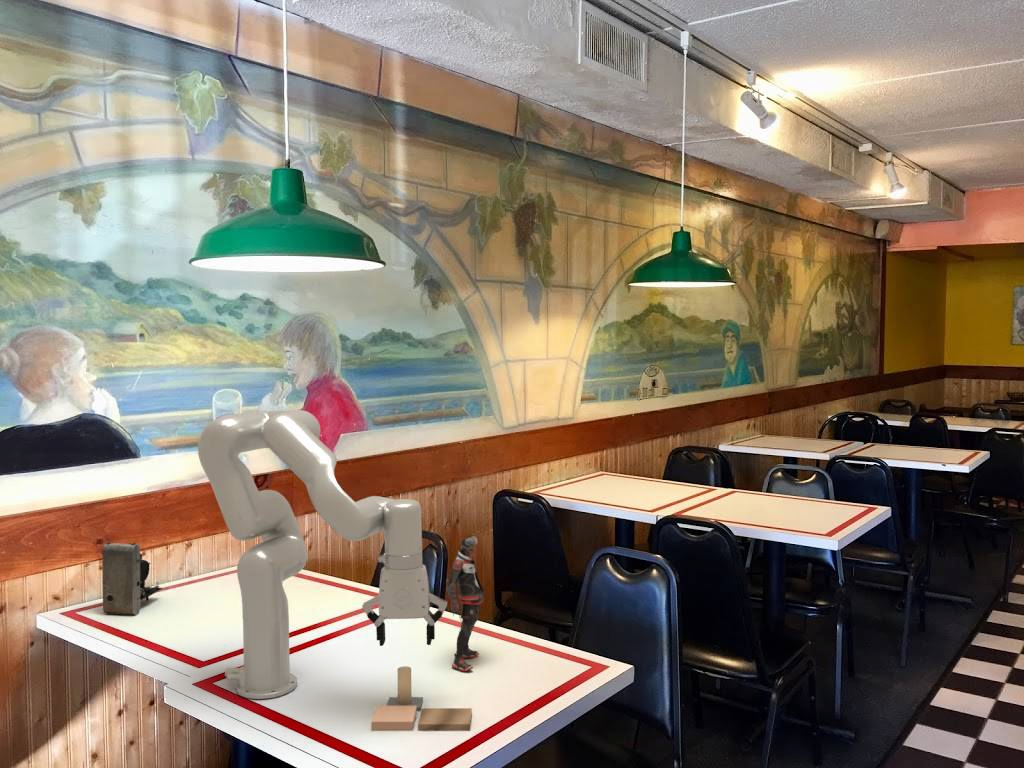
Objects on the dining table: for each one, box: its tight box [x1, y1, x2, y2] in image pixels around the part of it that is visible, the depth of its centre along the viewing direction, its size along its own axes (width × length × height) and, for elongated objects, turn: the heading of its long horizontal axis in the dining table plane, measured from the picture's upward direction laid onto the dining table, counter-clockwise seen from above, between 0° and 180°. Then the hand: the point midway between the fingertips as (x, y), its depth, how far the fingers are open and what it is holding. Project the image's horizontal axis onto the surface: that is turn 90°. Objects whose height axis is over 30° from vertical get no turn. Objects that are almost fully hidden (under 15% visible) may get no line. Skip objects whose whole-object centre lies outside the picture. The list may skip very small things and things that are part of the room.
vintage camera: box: [101, 541, 163, 616], centre depth 236 cm, size 10×16×20 cm, turn 172°
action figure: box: [445, 536, 486, 672], centre depth 194 cm, size 10×11×30 cm
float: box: [386, 665, 424, 712], centre depth 172 cm, size 7×5×8 cm
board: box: [417, 707, 473, 731], centre depth 165 cm, size 10×7×1 cm
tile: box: [370, 705, 418, 732], centre depth 165 cm, size 2×7×8 cm
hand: (405, 643), depth 171 cm, fingers open, 9 cm apart
